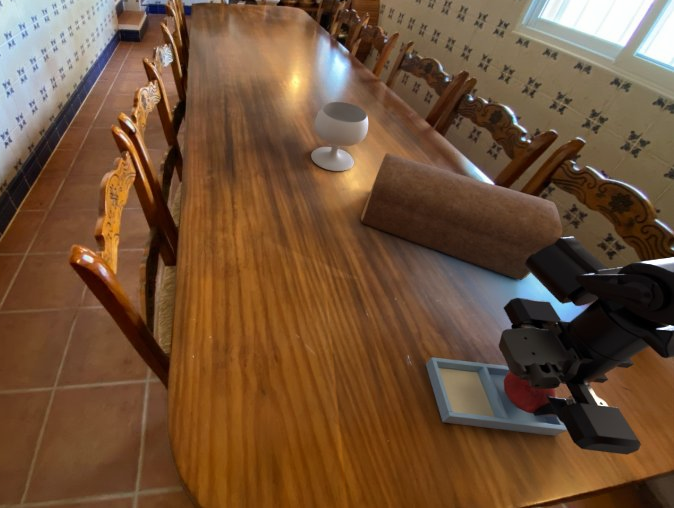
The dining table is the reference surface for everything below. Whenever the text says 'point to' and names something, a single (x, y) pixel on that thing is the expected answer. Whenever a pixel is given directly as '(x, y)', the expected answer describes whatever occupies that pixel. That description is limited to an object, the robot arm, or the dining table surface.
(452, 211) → the bread
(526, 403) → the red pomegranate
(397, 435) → the dining table surface
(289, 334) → the dining table surface
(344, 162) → the chalice
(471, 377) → the divided blue tray
